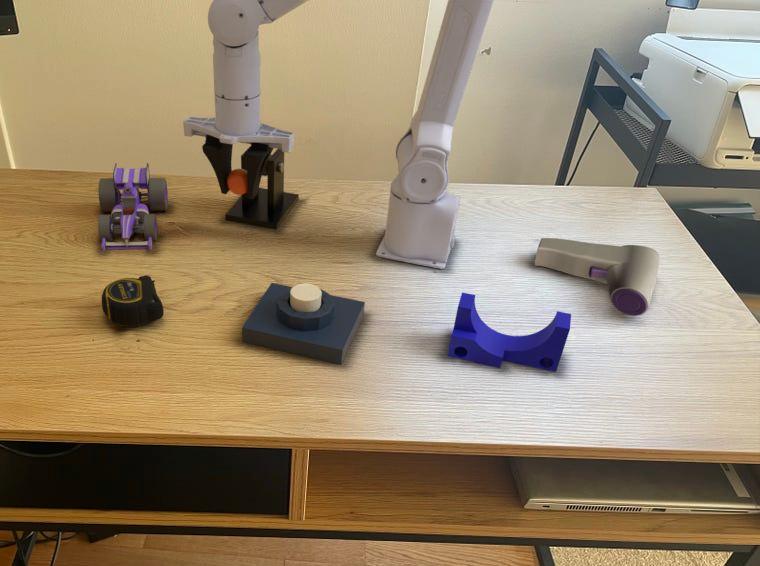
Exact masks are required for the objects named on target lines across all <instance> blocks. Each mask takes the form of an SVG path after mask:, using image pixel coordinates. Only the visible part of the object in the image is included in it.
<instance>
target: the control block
mask: <svg viewBox="0 0 760 566" xmlns="http://www.w3.org/2000/svg"><path fill="white" fill-rule="evenodd" d="M293 287H294V286H289V285H284V284H279V283H275V282H270V285H269V286H268V288H267V289H266V290H265V292H264V294H263V295H262V296H261V298H260V300H259V301H258V302H257V304H256V306H255V307H254V309H253V310H252V311H251V313H250V315H249V316H248V317H247V319H246V321H245V322H244V324H243V325H242V327H241V338H242V339H241V342H242V343H245V344H249V345H252V346H253V345H254V346H258V347H261V348H266V349H270V350H275V351H279V352H284V353H288V354H292V355H297V356H301V357H306V358H309V359H313V360H318V361H323V362H327V363H331V364H336V365H339V366H342V365H343V363H344V360H345V357H346V356H347V354H348V351H349V349H350V347H351V345H352V342H353V340H354V338H355V336H356V334H357V332H358V329H359V328H360V325H361V324H362V321H363V319H364V316H365V315H364V314H365V305H366V302H365V301H361V300H357V299H353V298H348V297H347V298H346V297H342V296H337V295H333V294H330V293H329V292H327V291H325V290H324V289H322V288H320V290H321V292H322V295H321V306H320V308H319V309H318V310H316V311H314V312H300V311H295V310H294V309H292V307H291V306H290V291H291V289H292V288H293Z"/></svg>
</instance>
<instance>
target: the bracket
mask: <svg viewBox="0 0 760 566" xmlns="http://www.w3.org/2000/svg"><path fill="white" fill-rule="evenodd" d="M250 147H251V145H250V146H248V148H250ZM244 153H245V151H244V152H243V153H242V154H241V155H240V169H244V170H247V168H246V162H245V158H244ZM271 155H272V156H271V157H270V158H269V159H268V172H267V176H266V177H267V180H266V181H267V182H266V183H267V187H266V188H264V187H259V190H258V194H257V195H256V196H255V198H254V199H249V198H248V193H245V194H242V195H241V196H240V197H239V198H238V199H237V201H235V203H234V204H233V205H232V206H231V207H230V208H229V210H228V211H227V212H226V213H225V215H224V217H225V218H224V219H225V221H228V222H235V223H239V224H244V225H250V226H255V227H261V228H267V229H272V230H278V229H279V227H280V226H281V225H282V223H283V222H284V221H285V219H286V218H287V216H288V215H289V214H290V212H291V211H292V210H293V208H294V207H295V206H296V204H297V203H298V202H299V199H300V197H299V196H300V194H299V193H292V192H287V191H285V152H282V149H277V148H276V150H275V151H274V152H273V154H271Z"/></svg>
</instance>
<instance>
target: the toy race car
mask: <svg viewBox="0 0 760 566" xmlns="http://www.w3.org/2000/svg"><path fill="white" fill-rule="evenodd" d="M97 190H98V201H99V207H100V209H101V211H102V212H103V213H105V212H106V213H108V212H109V213H111V214H99V215H98V219H97V230H98V237H99V241H100V242H101V251H102V252H106V250H137V249H138V250H139V249H140V250H141V249H143V250H145V249H146V250H148V251H150V252H151V251H152V249H153V242H156V241H157V240H158V221H157V216H156V214H155V213H150V211H151V212H167V211H168V206H169V198H168V197H169V194H168V183H167V179H166V177H151V174H150V165H149V162H147V163H146V167H141V168H124V167H118V163H117V162H115V163H114V168H113V170H112V177H101V178H100V179H99V182H98V189H97ZM121 190H122V193H121ZM140 190H147V192H142V191H140ZM146 199H147V200H146ZM145 203H148V204H149V207H148V206H147V205H146V204H145ZM149 208H150V211H149ZM114 234H121V240H124V242H120V241H119V242H113V239H114ZM135 234H143V236H144V240H145V241H129V240H130V238H131V237H132V236H134V235H135Z"/></svg>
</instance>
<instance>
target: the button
mask: <svg viewBox="0 0 760 566" xmlns="http://www.w3.org/2000/svg"><path fill="white" fill-rule="evenodd" d="M292 287H293V288H292V289H291V291H290V306H291V307H292V309H294V310H295V311H300V312H314V311H316V310H318V309H319V308H320V306H321V295H322V292H321V290H320V289H321V288H320V287H319V286H317V285H315V284H312V283H304V282H303V283H299V284H296V285H294V286H292Z"/></svg>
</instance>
